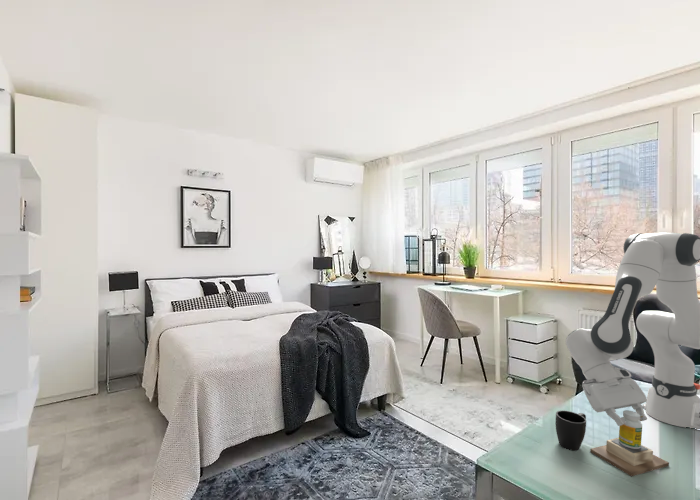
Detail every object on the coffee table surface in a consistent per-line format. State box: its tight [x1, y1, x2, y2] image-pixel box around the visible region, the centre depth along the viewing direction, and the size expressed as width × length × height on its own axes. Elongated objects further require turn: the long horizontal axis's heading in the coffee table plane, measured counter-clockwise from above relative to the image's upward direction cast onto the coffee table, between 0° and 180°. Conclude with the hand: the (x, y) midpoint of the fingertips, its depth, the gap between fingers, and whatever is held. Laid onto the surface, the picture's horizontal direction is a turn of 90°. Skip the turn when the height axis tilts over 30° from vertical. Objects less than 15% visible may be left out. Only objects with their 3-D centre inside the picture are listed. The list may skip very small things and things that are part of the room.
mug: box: [554, 410, 587, 452], centre depth 117 cm, size 8×12×10 cm
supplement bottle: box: [618, 409, 643, 449], centre depth 110 cm, size 5×5×10 cm
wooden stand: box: [589, 437, 670, 477], centre depth 110 cm, size 16×12×4 cm
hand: (633, 422), depth 109 cm, fingers open, 8 cm apart
